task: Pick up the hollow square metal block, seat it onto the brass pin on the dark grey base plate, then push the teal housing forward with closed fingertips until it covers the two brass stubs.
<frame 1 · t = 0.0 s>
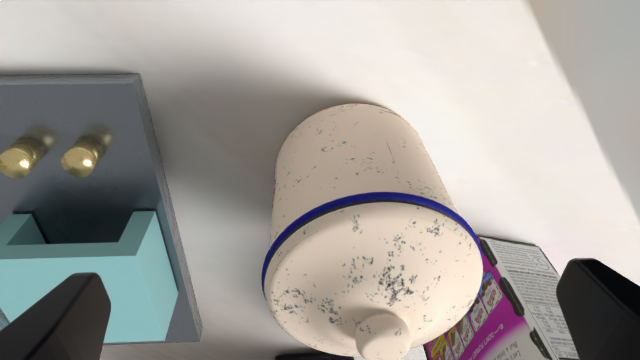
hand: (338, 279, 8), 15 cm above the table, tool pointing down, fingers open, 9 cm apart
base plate: (54, 231, 26), on the table
candy bar box: (475, 290, 31), on the table
housing: (89, 279, 24), point 3 cm above the table, slide at 0.0 cm
teacup with lid: (363, 183, 25), on the table
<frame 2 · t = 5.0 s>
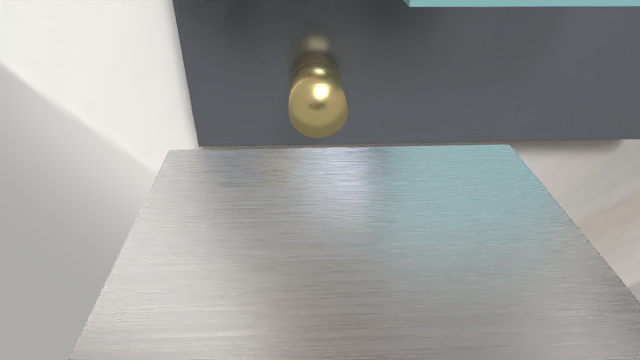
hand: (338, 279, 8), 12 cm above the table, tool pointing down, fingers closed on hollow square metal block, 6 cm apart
hollow square metal block: (336, 266, 9), point 11 cm above the table, touching gripper
when the fingers open (3 cm above the table, at t = 7.0 s): hollow square metal block stays where it is, resting on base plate.
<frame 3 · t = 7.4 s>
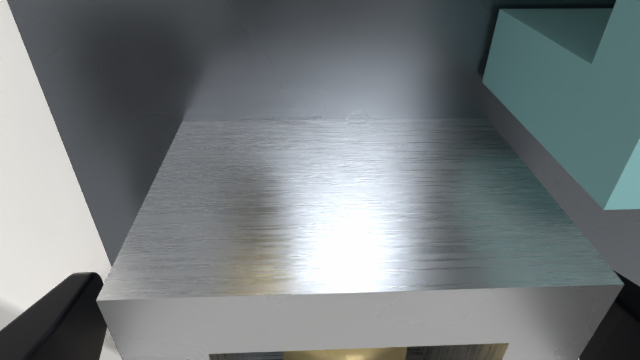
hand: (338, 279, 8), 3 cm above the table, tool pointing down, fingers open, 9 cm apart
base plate: (598, 2, 8), on the table
hollow square metal block: (332, 233, 9), point 1 cm above the table, touching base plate
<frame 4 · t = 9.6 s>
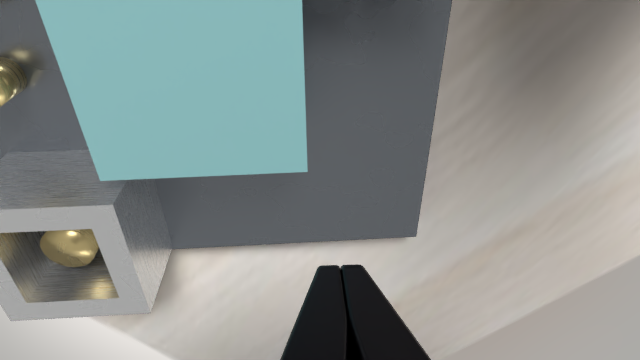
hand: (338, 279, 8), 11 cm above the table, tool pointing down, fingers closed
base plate: (195, 95, 18), on the table
housing: (193, 43, 14), point 3 cm above the table, slide at 0.0 cm
hollow square metal block: (97, 204, 19), point 1 cm above the table, touching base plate
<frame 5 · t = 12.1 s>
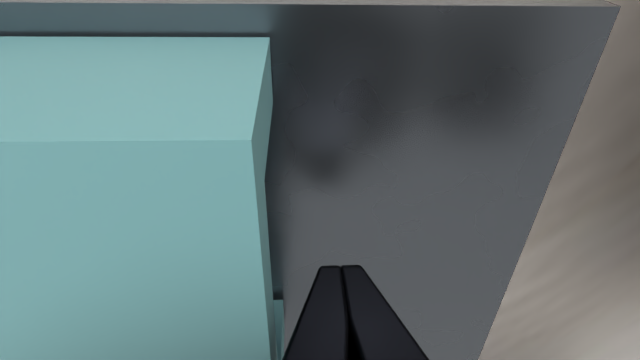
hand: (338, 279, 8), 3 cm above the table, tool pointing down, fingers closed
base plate: (146, 269, 12), on the table
housing: (87, 281, 8), point 3 cm above the table, slide at 0.6 cm, touching gripper
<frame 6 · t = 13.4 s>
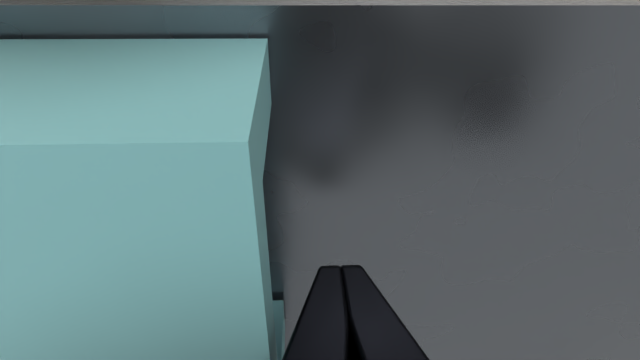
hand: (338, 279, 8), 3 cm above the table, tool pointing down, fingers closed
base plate: (355, 265, 12), on the table
housing: (87, 283, 8), point 3 cm above the table, slide at 6.6 cm, touching gripper
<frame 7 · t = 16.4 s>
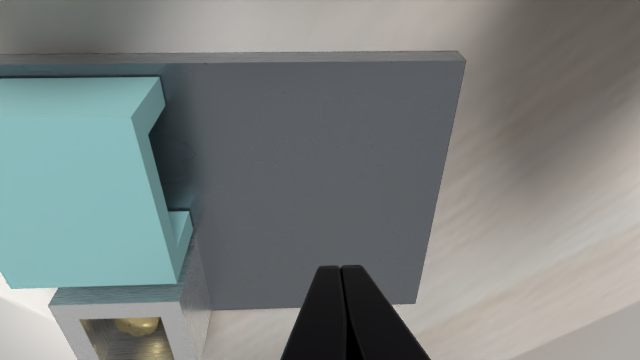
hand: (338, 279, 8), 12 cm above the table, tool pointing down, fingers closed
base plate: (238, 196, 22), on the table
housing: (82, 187, 17), point 3 cm above the table, slide at 6.7 cm
hollow square metal block: (153, 277, 23), point 1 cm above the table, touching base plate
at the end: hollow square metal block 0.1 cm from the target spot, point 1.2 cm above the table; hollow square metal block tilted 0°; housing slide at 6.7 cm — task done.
